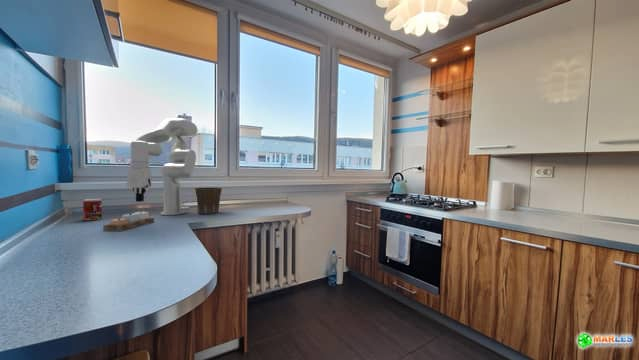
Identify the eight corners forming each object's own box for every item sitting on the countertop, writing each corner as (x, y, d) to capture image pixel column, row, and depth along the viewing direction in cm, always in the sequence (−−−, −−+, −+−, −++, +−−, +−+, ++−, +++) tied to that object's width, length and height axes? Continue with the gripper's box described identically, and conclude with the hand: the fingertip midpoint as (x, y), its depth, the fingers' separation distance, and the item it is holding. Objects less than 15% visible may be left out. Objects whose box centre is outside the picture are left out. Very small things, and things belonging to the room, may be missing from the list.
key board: (139, 221, 137) (139, 217, 137) (153, 222, 136) (153, 217, 136) (103, 230, 117) (103, 225, 117) (120, 231, 116) (120, 225, 116)
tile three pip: (118, 225, 123) (118, 217, 122) (127, 226, 122) (127, 218, 122) (110, 228, 118) (109, 219, 118) (119, 228, 117) (119, 219, 117)
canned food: (85, 221, 136) (85, 200, 136) (81, 219, 141) (81, 199, 140) (104, 219, 142) (103, 199, 142) (99, 217, 147) (99, 198, 147)
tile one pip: (140, 218, 135) (140, 211, 135) (148, 218, 135) (148, 211, 135) (133, 220, 131) (132, 212, 130) (141, 220, 130) (141, 212, 130)
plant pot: (222, 210, 177) (222, 187, 176) (222, 214, 161) (222, 188, 161) (196, 211, 171) (196, 187, 170) (193, 215, 156) (193, 189, 155)
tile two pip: (130, 220, 129) (130, 213, 129) (138, 221, 128) (138, 213, 128) (122, 222, 124) (122, 214, 124) (130, 223, 124) (130, 214, 124)
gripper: (120, 165, 129) (120, 201, 129) (147, 165, 127) (147, 202, 127) (132, 165, 136) (132, 200, 136) (158, 165, 134) (158, 201, 135)
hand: (139, 201), depth 132 cm, fingers closed
